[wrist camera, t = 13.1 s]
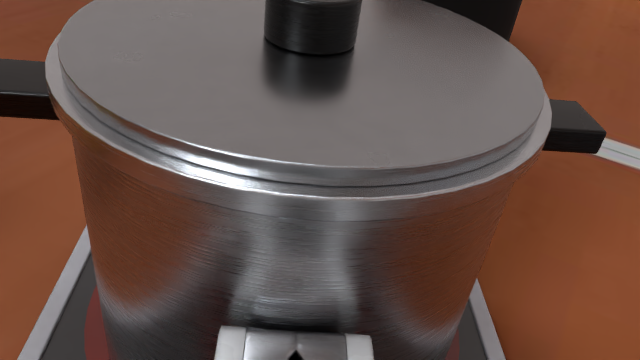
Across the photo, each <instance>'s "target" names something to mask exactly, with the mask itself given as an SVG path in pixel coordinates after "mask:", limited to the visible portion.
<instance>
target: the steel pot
mask: <svg viewBox="0 0 640 360" xmlns="http://www.w3.org/2000/svg"><path fill="white" fill-rule="evenodd" d="M0 117H16V118H32V119H48V120H60V121H61V122H62V123H63V125H64V126H65V128H66V129H67V130H68V132H69V133H70V134H71V135H72V140H73V146H74V152H75V157H76V163H77V169H78V175H79V181H80V187H81V193H82V199H83V205H84V211H85V217H86V223H87V228H88V234H89V240H90V246H91V252H92V258H93V264H94V270H95V276H96V282H97V288H98V294H99V300H100V305H101V311H102V317H103V323H104V329H105V335H106V341H107V347H108V353H109V359H110V360H214V358H215V352H216V346H217V340H218V334H219V331H220V328H221V325H222V326H236V327H250V328H261V329H272V330H283V331H294V332H296V331H313V332H334V333H344V334H360V335H369V336H370V337H371V339H372V346H373V355H374V360H445V358H446V356H447V353H448V351H449V348H450V345H451V343H452V340H453V338H454V335H455V333H456V330H457V327H458V325H459V322H460V320H461V317H462V315H463V312H464V309H465V307H466V304H467V302H468V299H469V297H470V294H471V291H472V289H473V286H474V284H475V281H476V279H477V276H478V273H479V271H480V268H481V266H482V263H483V261H484V258H485V255H486V253H487V250H488V248H489V245H490V243H491V240H492V237H493V235H494V232H495V230H496V227H497V225H498V222H499V219H500V217H501V214H502V212H503V209H504V207H505V204H506V201H507V199H508V196H509V194H510V191H511V189H512V186H513V183H514V182H515V181H516V180H518V179H519V178H521V177H522V176H523V175H524V174H525V173H526V172H527V171H528V170H529V169H530V168H531V166H532V165H533V164H534V163H535V162H536V161H537V159H538V157H539V155H540V153H541V151H542V150H544V151H560V152H576V153H592V154H596V153H597V152H598V150H599V148H600V146H601V144H602V142H603V140H604V138H605V136H606V131H605V130H604V129H603V128H602V127H601V126H600V125H599V124H598V123H597V122H596V121H595V120H594V119H593V118H592V117H591V116H590V115H589V114H588V113H587V112H586V111H585V110H584V109H583V108H582V107H581V105H580V104H579V103H578V102H576V101H565V100H552V99H549V98H548V96H547V94H546V92H545V90H544V88H543V83H542V80H541V78H540V76H539V74H538V72H537V70H536V68H535V67H534V66H533V65H532V63H531V62H530V61H529V60H528V59H527V57H526V56H525V55H523V54H522V53H521V52H520V51H519V50H518V49H517V48H516V47H515V46H513V45H512V44H511V43H509V42H508V41H506V40H505V39H504V38H502V37H501V36H499V35H498V34H496V33H494V32H493V31H491V30H489V29H488V28H486V27H484V26H482V25H480V24H478V23H476V22H474V21H472V20H470V19H468V18H466V17H464V16H462V15H459V14H457V13H454V12H452V11H450V10H447V9H445V8H442V7H439V6H436V5H434V4H431V3H428V2H425V1H422V0H94V1H92V2H90V3H89V4H87V5H86V6H84V7H82V8H81V9H79V10H78V11H77V12H76V13H75V14H74V15H73V16H72V17H71V18H69V20H68V21H67V23H66V24H65V26H64V27H63V29H62V30H61V33H60V34H58V36H57V37H56V39H55V40H54V42H53V43H52V45H51V46H50V48H49V51H48V54H47V58H46V61H45V62H39V61H26V60H12V59H0Z"/></svg>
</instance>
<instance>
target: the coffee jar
mask: <svg viewBox="0 0 640 360" xmlns="http://www.w3.org/2000/svg"><path fill="white" fill-rule="evenodd" d="M422 1H425V2H428V3H431V4H434V5H436V6H439V7H442V8H445V9H447V10H450V11H452V12H454V13H457V14H459V15H462V16H464V17H466V18H468V19H470V20H472V21H474V22H476V23H478V24H480V25H482V26H484V27H486V28H488V29H489V30H491V31H493V32H494V33H496V34H498V35H499V36H501V37H502V38H504V39H505V40H506V41H508V42H509V39H510V36H511V33H512V30H513V27H514V24H515V21H516V18H517V14H518V11H519V8H520V5H521V2H522V0H422Z"/></svg>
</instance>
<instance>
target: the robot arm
mask: <svg viewBox="0 0 640 360" xmlns="http://www.w3.org/2000/svg"><path fill="white" fill-rule="evenodd" d="M214 360H374V355H373V346H372V339H371V337H370V336H369V335H360V334H344V333H334V332H313V331H296V332H294V331H283V330H272V329H261V328H250V327H236V326H222V325H221V328H220V331H219V334H218V340H217V346H216V352H215V358H214Z"/></svg>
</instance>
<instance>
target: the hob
mask: <svg viewBox="0 0 640 360" xmlns="http://www.w3.org/2000/svg"><path fill="white" fill-rule="evenodd" d="M17 360H110V359H109V353H108V347H107V341H106V335H105V329H104V323H103V317H102V311H101V305H100V300H99V294H98V288H97V282H96V276H95V270H94V264H93V258H92V252H91V246H90V240H89V234H88V228H87V225H86V227H85V229H84V231H83V233H82V235H81V237H80V239H79V241H78V242H77V244H76V246H75V248H74V250H73V252H72V254H71V256H70V258H69V260H68V262H67V264H66V266H65V268H64V270H63V272H62V274H61V276H60V277H59V279H58V281H57V283H56V285H55V287H54V289H53V291H52V293H51V295H50V297H49V299H48V301H47V303H46V305H45V307H44V309H43V311H42V312H41V314H40V316H39V318H38V320H37V322H36V324H35V326H34V328H33V330H32V332H31V334H30V336H29V338H28V340H27V342H26V344H25V346H24V347H23V349H22V351H21V353H20V355H19V357H18V359H17ZM445 360H506V359H505V356H504V353H503V350H502V347H501V344H500V342H499V339H498V336H497V333H496V330H495V327H494V325H493V322H492V319H491V316H490V313H489V310H488V308H487V305H486V302H485V299H484V296H483V293H482V291H481V288H480V285H479V282H478V279H476V281H475V284H474V286H473V289H472V291H471V294H470V297H469V299H468V302H467V304H466V307H465V309H464V312H463V315H462V317H461V320H460V322H459V325H458V327H457V330H456V333H455V335H454V338H453V340H452V343H451V345H450V348H449V351H448V353H447V356H446V358H445Z"/></svg>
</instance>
